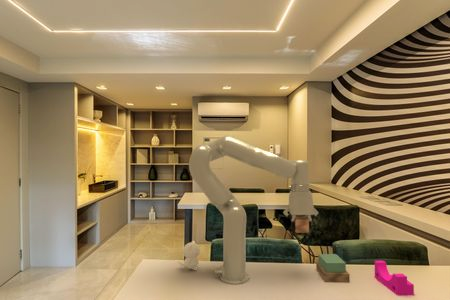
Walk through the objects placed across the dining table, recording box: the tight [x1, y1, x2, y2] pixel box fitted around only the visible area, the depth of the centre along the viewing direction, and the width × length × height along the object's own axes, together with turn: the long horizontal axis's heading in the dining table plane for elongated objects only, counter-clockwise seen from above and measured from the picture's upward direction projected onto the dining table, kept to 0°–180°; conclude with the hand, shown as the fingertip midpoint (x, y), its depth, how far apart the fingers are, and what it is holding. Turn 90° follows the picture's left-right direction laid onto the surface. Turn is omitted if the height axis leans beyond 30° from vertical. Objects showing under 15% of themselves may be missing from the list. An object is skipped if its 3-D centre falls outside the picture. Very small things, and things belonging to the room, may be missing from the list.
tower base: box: [315, 261, 351, 283], centre depth 120 cm, size 10×12×4 cm
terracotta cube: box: [294, 216, 310, 234], centre depth 121 cm, size 6×6×6 cm
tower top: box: [317, 253, 347, 273], centre depth 120 cm, size 8×10×4 cm
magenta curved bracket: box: [374, 260, 415, 296], centre depth 111 cm, size 15×6×8 cm, turn 1°
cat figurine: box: [176, 240, 201, 271], centre depth 128 cm, size 9×11×12 cm
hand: (301, 229), depth 121 cm, fingers closed on terracotta cube, 5 cm apart
